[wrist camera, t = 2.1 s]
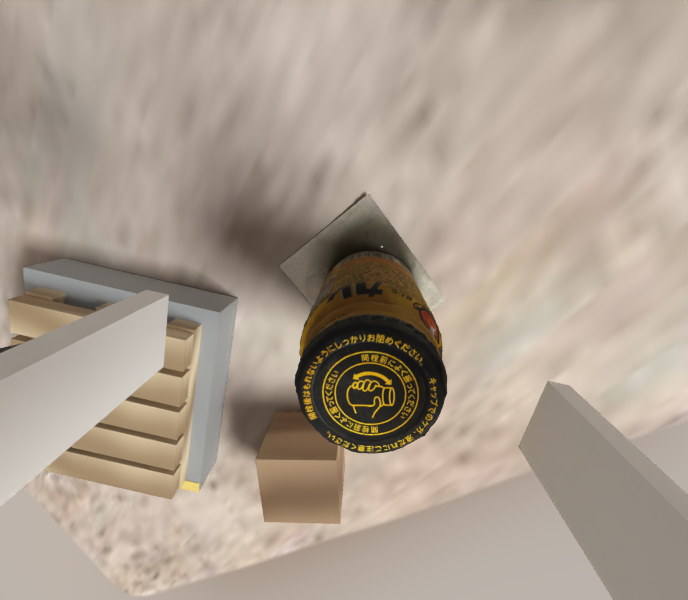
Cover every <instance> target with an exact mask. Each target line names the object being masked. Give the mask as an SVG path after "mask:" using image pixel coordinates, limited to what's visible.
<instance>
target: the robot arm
mask: <svg viewBox="0 0 688 600" xmlns="http://www.w3.org/2000/svg"><path fill="white" fill-rule="evenodd" d="M168 301H169V295H168V294H163V293H159V292H154V291H150V290H145V291H142V292H140V293H138V294H135V295H133V296H131V297H129V298H126V299H124V300H122V301H119V302H117V303H115V304H112V305H110V306H108V307H105V308H103V309H101V310H99V311H96V312H94V313H92V314H89V315H87V316H85V317H82V318H80V319H78V320H76V321H73V322H71V323H69V324H66V325H64V326H62V327H59V328H57V329H55V330H52V331H50V332H48V333H46V334H43V335H41V336H39V337H36V338H34V339H32V340H29V341H27V342H25V343H21V344H17V345H13V346H9V347H4V348H0V507H1V506H2V505H3V504H4V503H5V502H7V501H8V500H9V499H10V498H11V497H12V496H14V495H15V494H16V493H17V492H18V491H19V490H21V489H22V488H23V487H24V486H25V485H26V484H28V483H29V482H30V481H31V480H32V479H33V478H35V477H36V476H37V475H38V474H39V473H40V472H42V471H43V470H44V469H45V468H46V467H47V466H48V465H50V464H51V463H52V462H53V461H54V460H55V459H57V458H58V457H59V456H60V455H61V454H62V453H64V452H65V451H66V450H67V449H68V448H69V447H71V446H72V445H73V444H74V443H75V442H76V441H78V440H79V439H80V438H81V437H82V436H83V435H85V434H86V433H87V432H88V431H89V430H90V429H92V428H93V427H94V426H95V425H96V424H97V423H99V422H100V421H101V420H102V419H103V418H104V417H106V416H107V415H108V414H109V413H110V412H111V411H113V410H114V409H115V408H116V407H117V406H118V405H120V404H121V403H122V402H123V401H124V400H125V399H127V398H128V397H129V396H130V395H131V394H132V393H134V392H135V391H136V390H137V389H138V388H139V387H141V386H142V385H143V384H144V383H145V382H146V381H148V380H149V379H150V378H151V377H152V376H153V375H155V374H156V373H157V372H158V371H159V370H160V369H162V368H163V366H164V353H165V340H166V327H167V314H168ZM519 448H520V450H521V451H522V453H523V455H524V456H525V458H526V459H527V461H528V463H529V464H530V466H531V468H532V469H533V471H534V472H535V474H536V475H537V477H538V479H539V480H540V482H541V484H542V485H543V487H544V488H545V490H546V492H547V493H548V495H549V497H550V498H551V500H552V501H553V503H554V505H555V506H556V508H557V509H558V511H559V513H560V514H561V516H562V518H563V519H564V520H565V522H566V524H567V526H568V527H569V529H570V530H571V532H572V534H573V535H574V537H575V538H576V540H577V542H578V543H579V545H580V547H581V548H582V550H583V551H584V553H585V555H586V556H587V558H588V560H589V561H590V563H591V564H592V566H593V567H594V569H595V571H596V572H597V574H598V576H599V577H600V579H601V580H602V582H603V584H604V585H605V587H606V589H607V590H608V592H609V593H610V595H611V597H612V598H613V600H688V494H687V493H686V492H685V491H683V490H682V489H681V488H680V487H679V486H678V485H677V484H676V483H675V482H674V481H673V480H671V479H670V478H669V477H668V476H667V475H666V474H665V473H664V472H663V471H662V470H661V469H660V468H658V467H657V466H656V465H655V464H654V463H653V462H652V461H651V460H650V459H649V458H648V457H646V456H645V455H644V454H643V453H642V452H641V451H640V450H639V449H638V448H637V447H636V446H634V445H633V444H632V443H631V442H630V441H629V440H628V439H627V438H626V437H625V436H624V435H623V434H621V433H620V432H619V431H618V430H617V429H616V428H615V427H614V426H613V425H612V424H611V423H610V422H608V421H607V420H606V419H605V418H604V417H603V416H602V415H601V414H600V413H599V412H598V411H597V410H595V409H594V408H593V407H592V406H591V405H590V404H589V403H588V402H587V401H586V400H585V399H583V398H582V397H581V396H580V395H579V394H578V393H577V392H576V391H575V390H574V389H573V388H572V387H570V386H568V385H564V384H560V383H555V382H551V381H548V382H547V384H546V386H545V388H544V391H543V393H542V395H541V397H540V400H539V402H538V404H537V406H536V408H535V411H534V413H533V415H532V417H531V420H530V422H529V424H528V426H527V429H526V431H525V433H524V435H523V438H522V440H521V442H520V444H519Z"/></svg>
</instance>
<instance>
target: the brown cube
mask: <svg viewBox="0 0 688 600" xmlns="http://www.w3.org/2000/svg"><path fill="white" fill-rule="evenodd" d="M255 460H256V467H257V474H258V481H259V488H260V495H261V502H262V508H263V515H264V522H290V523H328V524H340V518H341V506H342V495H343V483H344V471H345V460H344V447H341V446H339V445H336V444H333V443H331V442H329V441H328V440H327V439H326V438H324V437H323V436H322V435H321V434H320V433H319V432H318V431H316V430H315V429H314V427H313V426H312V425H311V424H310V423H309V422H308V420H307V419H306V417H305V416H304V414H303V413H302V412H275V414H274V417H273V419H272V421H271V424H270V426H269V429H268V431H267V433H266V436H265V438H264V440H263V443H262V445H261V448H260V450H259V452H258V455H257V457H256V459H255Z"/></svg>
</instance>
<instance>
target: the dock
mask: <svg viewBox="0 0 688 600" xmlns="http://www.w3.org/2000/svg"><path fill="white" fill-rule="evenodd" d="M23 277H24V293H25V291H27V290H31V289H34V288H38V287H43V288H47V289H52V290H56V291H60V292H65V293H66V304H68V305H72V306H77V307H81V308H85V309H90V310H94V311H96V307H99V306H101V305H103V304H106V303H113V304H115V303H117V302H119V301H122V300H124V299H126V298H129V297H131V296H133V295H135V294H138V293H140V292H142V291H145V290H150V291H154V292H159V293H163V294H168V295H169V301H168V314H167V324H168V323H170V322H171V321H173V320H174V319H176V318H178V319H182V320H186V321H191V322H195V323H199V324H202V329H201V339H200V348H199V358H198V368H197V378H196V387H195V397H194V407H193V417H192V426H191V436H190V446H189V456H188V465H187V475H186V479H185V481H184V482H183V484H182V485H181V487H180V488H181V489H186V490H190V491H195V492H199V490H200V489H201V487H202V485H203V483H204V482H205V480H206V478H207V476H208V474H209V473H210V471H211V469H212V467H213V466H214V464H215V462H216V458H217V450H218V443H219V435H220V428H221V420H222V413H223V405H224V398H225V390H226V383H227V375H228V368H229V360H230V353H231V345H232V338H233V330H234V323H235V315H236V308H237V300H238V298H235V297H231V296H227V295H222V294H218V293H214V292H209V291H205V290H201V289H196V288H192V287H188V286H183V285H179V284H175V283H170V282H166V281H162V280H157V279H153V278H149V277H144V276H140V275H136V274H131V273H127V272H123V271H118V270H114V269H110V268H105V267H101V266H97V265H93V264H88V263H84V262H80V261H75V260H71V259H67V258H63V259H58V260H53V261H49V262H44V263H40V264H35V265H31V266H26V267H23Z"/></svg>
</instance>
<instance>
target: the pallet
mask: <svg viewBox="0 0 688 600" xmlns="http://www.w3.org/2000/svg"><path fill="white" fill-rule="evenodd" d="M112 304H113V303H106V304H103V305H101V306H99V307H96V311H99V310H101V309H103V308H105V307H108V306H110V305H112ZM8 309H9V321H10V332H11V333H15V334H20V335H19V336H16V337H14V338H11V346H13V345H17V344H21V343H25V342H27V341H29V340H32V339H34V338H36V337H39V336H41V335H43V334H46V333H48V332H50V331H52V330H55V329H57V328H59V327H62V326H64V325H66V324H69V323H71V322H73V321H76V320H78V319H80V318H82V317H85V316H87V315H89V314H92V313H94V312H96V311H94V310H90V309H85V308H81V307H77V306H72V305H68V304H66V293H65V292H60V291H56V290H52V289H47V288H43V287H38V288H34V289H31V290H27V291H25V295H22V296H18V297H15V298H12V299H8ZM201 329H202V324H199V323H195V322H191V321H186V320H182V319H178V318H176V319H174V320H173V321H171V322H170V323H168V324H167V327H166V340H165V353H164V366H163V368H162V369H160V370H159V371H158V372H157V373H156V374H155V375H153V376H152V377H151V378H150V379H149V380H148V381H146V382H145V383H144V384H143V385H142V386H141V387H139V388H138V389H137V390H136V391H135V392H134V393H132V394H131V395H130V396H129V397H128V398H127V399H125V400H124V401H123V402H122V403H121V404H120V405H118V406H117V407H116V408H115V409H114V410H113V411H111V412H110V413H109V414H108V415H107V416H106V417H104V418H103V419H102V420H101V421H100V422H99V423H97V424H96V425H95V426H94V427H93V428H92V429H90V430H89V431H88V432H87V433H86V434H85V435H83V436H82V437H81V438H80V439H79V440H78V441H76V442H75V443H74V444H73V445H72V446H71V447H69V448H68V449H67V450H66V451H65V452H64V453H62V454H61V455H60V456H59V457H58V458H57V459H55V460H54V461H53V462H52V463H51V464H50V465H48V466H47V467H46V468H45V469H44V471H49V472H53V473H57V474H62V475H66V476H70V477H75V478H79V479H84V480H88V481H92V482H97V483H101V484H106V485H110V486H114V487H119V488H123V489H127V490H132V491H136V492H141V493H145V494H149V495H154V496H158V497H163V498H167V499H172V498H173V496H174V494H175V493H176V491H177V490H178V489H180V487H181V485H182V484H183V482H184V481H185V479H186V475H187V465H188V456H189V446H190V436H191V426H192V417H193V407H194V397H195V387H196V378H197V368H198V358H199V348H200V339H201Z"/></svg>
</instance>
